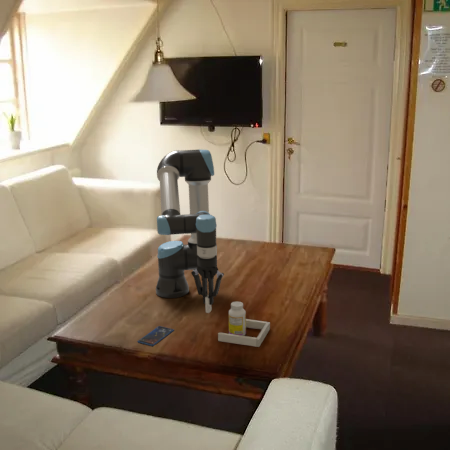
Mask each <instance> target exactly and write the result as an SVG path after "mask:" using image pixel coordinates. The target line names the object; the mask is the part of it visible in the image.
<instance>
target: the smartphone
mask: <svg viewBox="0 0 450 450" xmlns="http://www.w3.org/2000/svg"><path fill="white" fill-rule="evenodd" d="M174 331H175V329H173V328H170V327H165V326H161V325H158V326H156V327H155V328H154V329H152V330H151V331H150V332H148V333H147V334H146V335H144V336H143V337H142V338H140V339H138V340H137V341H136V342H138V344H142V345H146V346H149V347H154V346H156V345H157V344H159V343H160V342H161V341H162V340H164V339H165V338H167V337H168V336H169V335H171V334H172V333H174Z"/></svg>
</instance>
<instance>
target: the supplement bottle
mask: <svg viewBox="0 0 450 450" xmlns="http://www.w3.org/2000/svg"><path fill="white" fill-rule="evenodd" d="M246 313H247V312H246V309H244V302H241V301H232V302H231V303H230V309H229V310H228V334H234V335H241V336H246V334H247V327H246V319H247V314H246Z"/></svg>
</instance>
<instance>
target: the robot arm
mask: <svg viewBox="0 0 450 450" xmlns="http://www.w3.org/2000/svg"><path fill="white" fill-rule="evenodd" d="M213 176H215V167H214V162H213V156H212V153H211V151H210V150H208V149H202V148H201V149H200V148H199V149H185V150H184V149H181V150H179V149H178V150H177V149H176V150H173V151H170V152H169V153H167V154H166V155H164V156H163V158H161V160H160V161H159V163H158V166H157V169H156V178H157V180H158V181H159V191H160V192H159V193H160V194H159V195H160V196H159V197H160V211H161V215H158V216H157V217H156V226H157V230H156V231H157V234H159V235H161V236H162V235H163V236H166V235H167V236H170V235H183V234H187V235H188V234H190V237H189V238H188V240H187V244H184V243H183V241H181V240H171V241H170V240H169V241H167V242H163V243H162V244H160V245H159V246H158V248H157V263H158V264H157V265H158V279H157V283H156V286H155V294H156V295H157V296H159V297H161V298H163V299H164V298H166V299H174V298H175V299H177V298H180V297H181V298H182V297H184V296H186V295H187V294H188V293H189V292H190V287H189V284H188V281H187V279H186V278H187V277H186V275H185V271H191V272H190V274H191V275H192V277H193V280H194V283H195V287H196V291H197V293H198V295H201V296H202V304H204V305H205V313H206V314H210V313H211V311H213V310H212V309H213V308H212V305H213V304H214V298H216V297H217V295H219V292H220V288H221V287H220V286H221V282H222V278H223V277H224V275H225V273H224V272H221V271H219V268H218V256H217V254H218V246H217V244H218V243H217V220H216V219H217V218H216V216H214V215H212V214H211V213H210V207H209V206H210V205H209V204H210V203H209V183H210V182H211V181H212V177H213ZM183 177H184V181H185V182H186V183H187V184H188V200H189V214H181V206H180V205H181V204H180V195H179V193H180V192H179V184H178V180H179V179H180V178H183ZM215 276H216V281H215V285H214V280H215Z"/></svg>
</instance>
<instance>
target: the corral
mask: <svg viewBox="0 0 450 450" xmlns="http://www.w3.org/2000/svg"><path fill="white" fill-rule="evenodd" d="M246 328H249V329H254V330H255V329H257V330H260V332H259V333H258V335H257V337H255V336H253V337H252V336H248V335H244V336H241V335H234V334H229V333H225V332H218V333H217V340H218V342H223V343H230V344H237V345H243V346H250V347H256V348H257V347H258V348H259V347H260V346H261V344H263V341H264V340H265V339H266V337H267V334H268V333H269V332H270V329H271V322H269V321H262V320H256V319H249V318H246Z"/></svg>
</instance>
